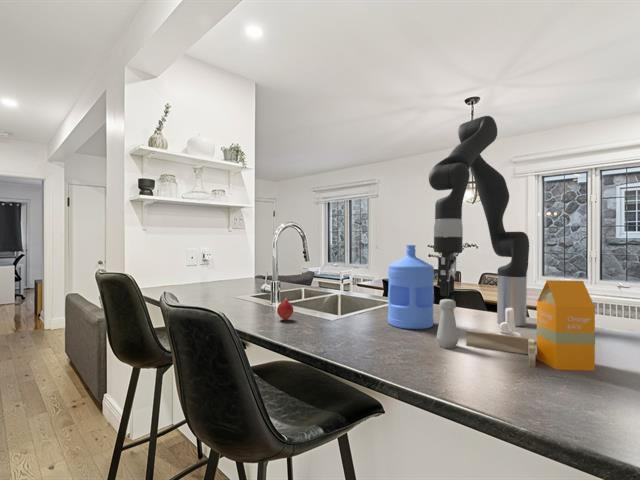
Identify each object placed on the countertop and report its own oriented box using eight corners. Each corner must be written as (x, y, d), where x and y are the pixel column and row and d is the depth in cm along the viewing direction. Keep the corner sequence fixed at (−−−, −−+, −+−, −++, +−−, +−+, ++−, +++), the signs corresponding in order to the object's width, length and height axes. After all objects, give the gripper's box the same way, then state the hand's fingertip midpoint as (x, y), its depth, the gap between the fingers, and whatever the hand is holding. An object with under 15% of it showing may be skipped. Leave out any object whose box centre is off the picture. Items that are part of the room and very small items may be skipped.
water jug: (386, 319, 132) (387, 244, 133) (429, 320, 130) (430, 245, 130) (388, 328, 117) (389, 244, 117) (437, 331, 115) (438, 245, 115)
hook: (501, 326, 99) (492, 309, 105) (501, 353, 106) (492, 335, 111) (529, 322, 98) (518, 304, 104) (527, 350, 104) (517, 332, 110)
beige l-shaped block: (466, 344, 100) (466, 330, 100) (533, 353, 92) (533, 338, 92) (460, 355, 89) (461, 339, 89) (535, 367, 81) (535, 349, 81)
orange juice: (536, 358, 88) (536, 278, 88) (572, 359, 87) (572, 279, 88) (556, 369, 80) (556, 282, 80) (595, 370, 80) (596, 282, 80)
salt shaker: (442, 342, 101) (442, 297, 102) (462, 346, 97) (462, 299, 97) (432, 346, 97) (433, 299, 97) (452, 350, 93) (453, 302, 93)
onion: (275, 321, 126) (275, 299, 126) (279, 318, 131) (280, 296, 131) (291, 322, 125) (291, 299, 125) (294, 318, 130) (295, 297, 130)
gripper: (439, 236, 106) (438, 290, 105) (428, 234, 93) (427, 295, 93) (465, 236, 102) (465, 292, 102) (458, 234, 90) (457, 298, 89)
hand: (447, 293), depth 97 cm, fingers open, 8 cm apart
